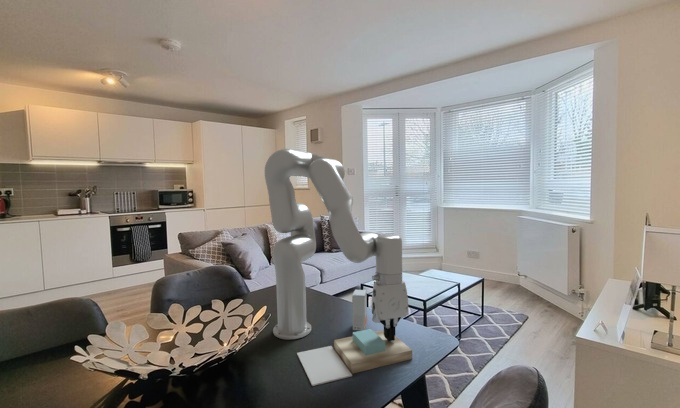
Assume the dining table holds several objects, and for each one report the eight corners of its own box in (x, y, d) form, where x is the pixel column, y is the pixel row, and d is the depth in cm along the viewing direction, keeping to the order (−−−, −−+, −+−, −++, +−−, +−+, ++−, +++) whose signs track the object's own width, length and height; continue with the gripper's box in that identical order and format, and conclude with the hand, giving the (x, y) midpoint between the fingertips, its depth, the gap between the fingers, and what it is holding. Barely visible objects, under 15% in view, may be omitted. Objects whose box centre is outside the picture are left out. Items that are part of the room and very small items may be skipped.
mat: (297, 354, 94) (296, 352, 94) (331, 346, 97) (331, 345, 97) (312, 386, 79) (312, 384, 79) (352, 376, 83) (352, 374, 83)
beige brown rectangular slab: (334, 348, 97) (333, 340, 97) (387, 336, 103) (387, 329, 103) (352, 373, 84) (352, 364, 83) (412, 358, 90) (412, 350, 90)
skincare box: (365, 331, 107) (364, 295, 106) (352, 330, 108) (351, 295, 107) (367, 323, 113) (366, 289, 112) (355, 322, 114) (354, 289, 113)
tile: (352, 340, 96) (352, 332, 96) (370, 336, 98) (370, 328, 98) (365, 355, 88) (365, 346, 87) (385, 350, 90) (385, 342, 90)
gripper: (371, 284, 88) (372, 350, 89) (418, 277, 93) (418, 339, 94) (360, 277, 95) (361, 338, 96) (404, 271, 100) (404, 329, 101)
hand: (389, 338), depth 95 cm, fingers closed
